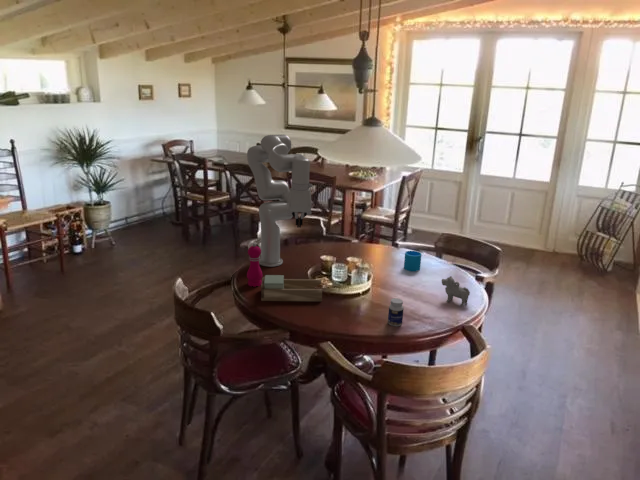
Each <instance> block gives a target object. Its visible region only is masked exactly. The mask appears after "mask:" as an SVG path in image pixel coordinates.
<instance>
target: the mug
mask: <svg viewBox="0 0 640 480" xmlns="http://www.w3.org/2000/svg"><path fill="white" fill-rule="evenodd" d="M421 264H422V253H421V252H419V251H417V250H407V251H405V253H404V262H403V269H404V270H405V271H408V272H420V270H421Z"/></svg>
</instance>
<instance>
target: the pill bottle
mask: <svg viewBox="0 0 640 480" xmlns="http://www.w3.org/2000/svg"><path fill="white" fill-rule="evenodd" d="M403 304H404V301H403V299H401V298H397V297H395V298H391V299H390V305H389V306H388V315H387V316H388V317H387V324H388V325H390V326H391V327H400V326H402V324H403V319H404V318H403V317H404V305H403Z"/></svg>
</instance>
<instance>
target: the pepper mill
mask: <svg viewBox="0 0 640 480" xmlns="http://www.w3.org/2000/svg"><path fill="white" fill-rule="evenodd" d="M247 255H248V260H249V268H248V270H247V272H246V278H247V279H248V280H247V285H248V286H249V287H252V286H253V288H254V287H255V288H257V287H256V286H258V287H261V285H262V279H263V277H264V276H263V271H262V268H261V265H260V264H259V260H260V258H261V247H260V246H258V245H257V243H255V242H253V243H252V245H251V246H250V247H249V248H248V250H247Z"/></svg>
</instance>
